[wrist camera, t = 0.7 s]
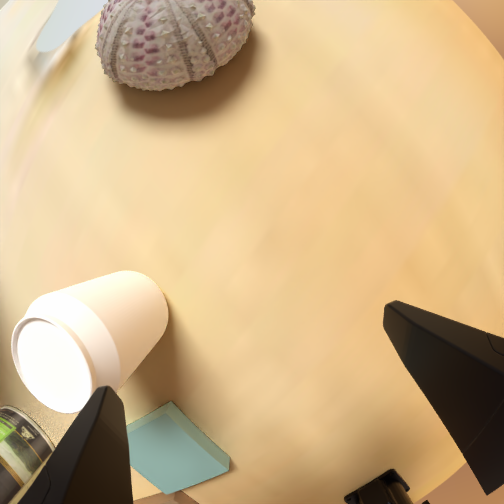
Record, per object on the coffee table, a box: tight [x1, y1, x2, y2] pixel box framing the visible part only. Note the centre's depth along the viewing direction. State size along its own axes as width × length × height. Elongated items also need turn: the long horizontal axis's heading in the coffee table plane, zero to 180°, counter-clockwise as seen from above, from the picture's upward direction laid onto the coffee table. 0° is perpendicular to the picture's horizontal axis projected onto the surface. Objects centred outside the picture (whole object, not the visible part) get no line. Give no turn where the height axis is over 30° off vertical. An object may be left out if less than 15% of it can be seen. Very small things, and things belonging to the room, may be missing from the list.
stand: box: [126, 401, 230, 495], centre depth 22 cm, size 8×8×2 cm
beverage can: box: [11, 271, 168, 414], centre depth 16 cm, size 6×6×12 cm
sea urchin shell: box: [95, 0, 256, 91], centre depth 17 cm, size 13×14×8 cm
